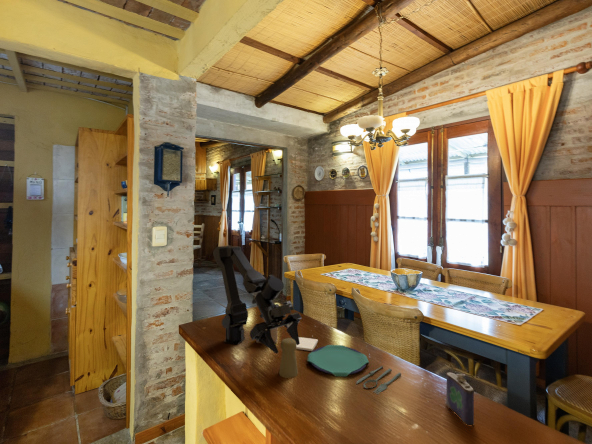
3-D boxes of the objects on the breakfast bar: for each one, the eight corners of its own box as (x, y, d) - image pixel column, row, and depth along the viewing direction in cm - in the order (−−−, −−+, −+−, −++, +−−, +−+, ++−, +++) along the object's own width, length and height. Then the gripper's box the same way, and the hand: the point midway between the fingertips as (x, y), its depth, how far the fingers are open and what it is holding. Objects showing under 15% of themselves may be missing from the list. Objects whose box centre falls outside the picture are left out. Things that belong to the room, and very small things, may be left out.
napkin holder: (256, 342, 124) (256, 327, 123) (258, 339, 127) (258, 325, 126) (276, 343, 123) (276, 329, 122) (277, 340, 126) (277, 326, 125)
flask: (443, 404, 85) (444, 365, 84) (453, 403, 85) (454, 364, 85) (467, 427, 75) (468, 384, 75) (477, 426, 76) (479, 383, 75)
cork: (295, 378, 97) (295, 344, 97) (277, 376, 98) (277, 342, 98) (299, 369, 103) (299, 336, 103) (281, 367, 104) (281, 335, 104)
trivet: (289, 347, 119) (289, 345, 119) (296, 338, 128) (296, 336, 128) (312, 351, 116) (312, 349, 116) (317, 341, 125) (317, 339, 125)
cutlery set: (334, 345, 122) (334, 339, 122) (405, 376, 100) (405, 369, 100) (297, 362, 108) (297, 356, 108) (370, 403, 86) (371, 395, 86)
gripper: (254, 299, 98) (276, 345, 90) (297, 289, 110) (320, 328, 102) (241, 318, 104) (261, 362, 96) (283, 306, 116) (304, 344, 108)
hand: (288, 348), depth 101 cm, fingers open, 9 cm apart
